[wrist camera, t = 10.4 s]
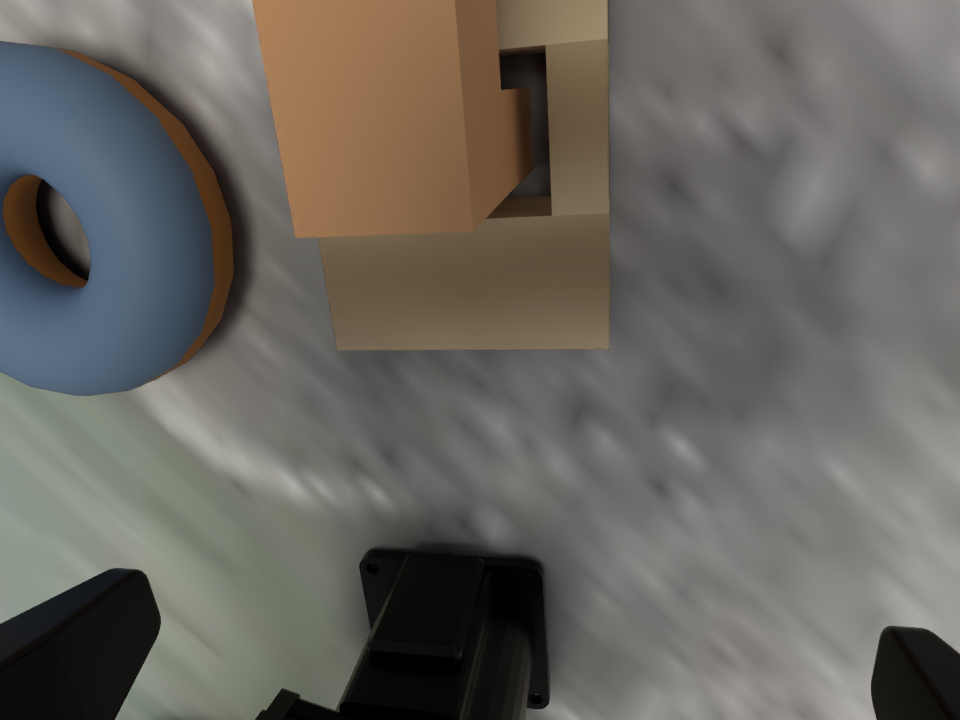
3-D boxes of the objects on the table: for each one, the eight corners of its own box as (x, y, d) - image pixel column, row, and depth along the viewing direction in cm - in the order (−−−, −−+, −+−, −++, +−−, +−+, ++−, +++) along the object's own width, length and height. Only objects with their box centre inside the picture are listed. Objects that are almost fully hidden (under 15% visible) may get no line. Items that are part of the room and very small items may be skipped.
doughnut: (-56, -16, 18) (-236, -16, 14) (282, 105, 18) (193, 137, 14) (-20, 291, 23) (-146, 352, 20) (244, 385, 24) (171, 464, 20)
